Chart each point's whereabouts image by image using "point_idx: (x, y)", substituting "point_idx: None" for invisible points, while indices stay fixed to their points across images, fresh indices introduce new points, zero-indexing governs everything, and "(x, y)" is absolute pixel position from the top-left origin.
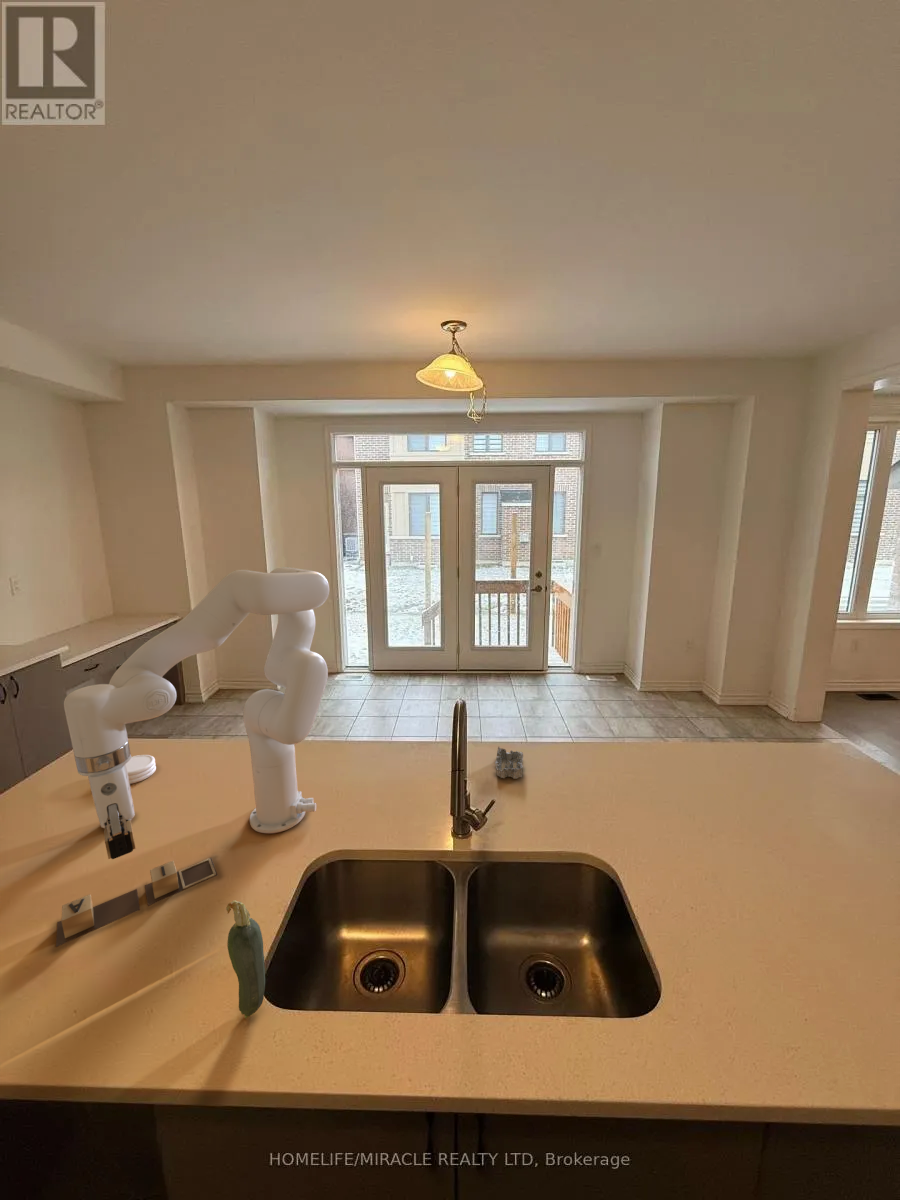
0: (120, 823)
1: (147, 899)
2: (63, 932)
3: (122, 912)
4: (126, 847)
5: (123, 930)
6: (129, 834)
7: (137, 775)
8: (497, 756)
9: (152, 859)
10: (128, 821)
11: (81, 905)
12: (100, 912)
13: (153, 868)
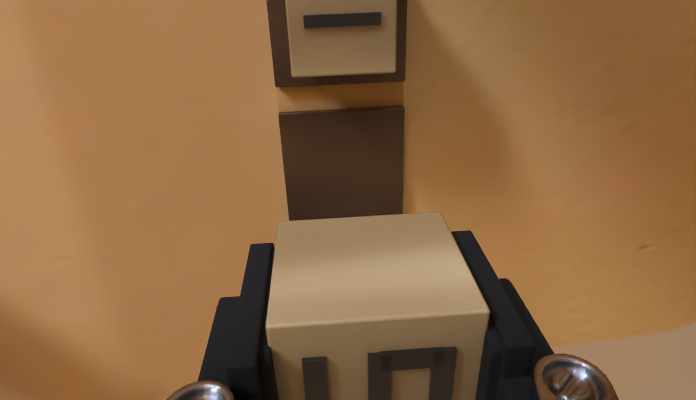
0: (274, 386)
1: (366, 81)
2: None
3: (378, 159)
4: (515, 293)
5: (455, 154)
6: (521, 328)
7: None
8: None
9: (97, 47)
10: (283, 338)
11: None
12: (332, 217)
13: (292, 62)
